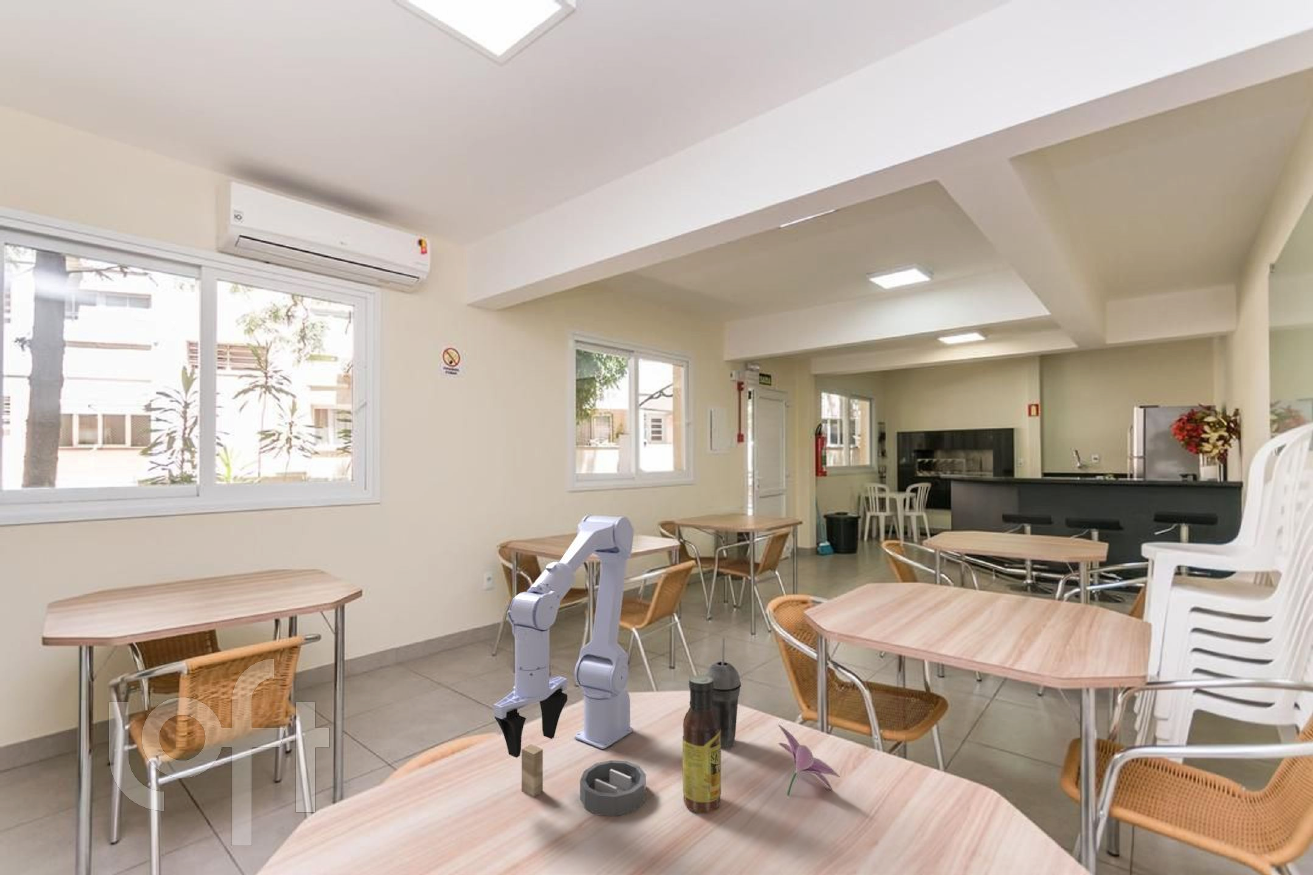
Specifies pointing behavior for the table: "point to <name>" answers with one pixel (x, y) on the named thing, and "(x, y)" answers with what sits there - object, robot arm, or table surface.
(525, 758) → the wooden jenga block
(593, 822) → the table surface
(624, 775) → the grey round bowl
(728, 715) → the beverage cup
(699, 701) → the sauce bottle
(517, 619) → the robot arm
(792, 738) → the lily
